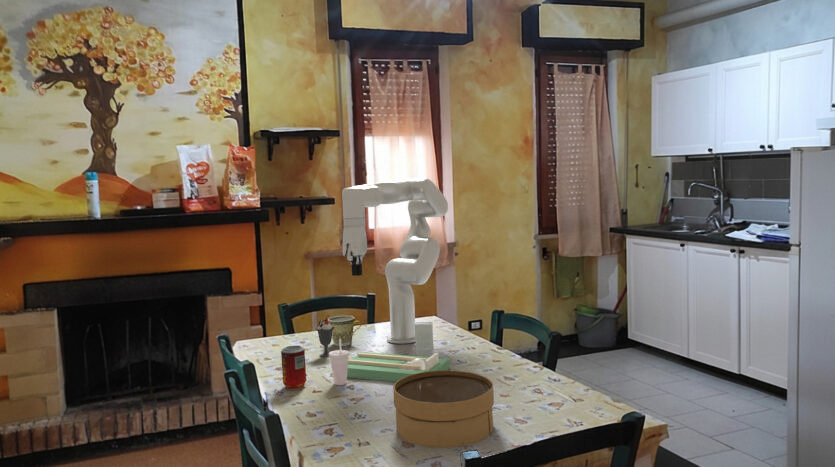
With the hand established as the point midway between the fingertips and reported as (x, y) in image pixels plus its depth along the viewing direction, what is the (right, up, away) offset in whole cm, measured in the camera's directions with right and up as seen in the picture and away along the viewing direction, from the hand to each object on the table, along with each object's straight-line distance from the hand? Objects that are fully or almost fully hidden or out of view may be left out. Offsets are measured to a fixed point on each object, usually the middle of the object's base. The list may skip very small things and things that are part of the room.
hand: (357, 275), depth 224 cm
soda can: (-16, -33, -28) cm, 46 cm away
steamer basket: (+28, -34, -64) cm, 78 cm away
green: (+13, -30, -17) cm, 37 cm away
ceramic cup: (-6, -28, +21) cm, 35 cm away
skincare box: (+24, -29, -1) cm, 37 cm away
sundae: (-12, -29, +6) cm, 32 cm away
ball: (+21, -28, -20) cm, 40 cm away
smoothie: (-3, -32, -26) cm, 41 cm away
